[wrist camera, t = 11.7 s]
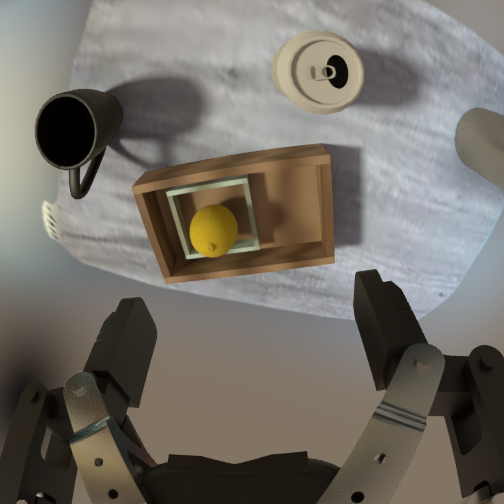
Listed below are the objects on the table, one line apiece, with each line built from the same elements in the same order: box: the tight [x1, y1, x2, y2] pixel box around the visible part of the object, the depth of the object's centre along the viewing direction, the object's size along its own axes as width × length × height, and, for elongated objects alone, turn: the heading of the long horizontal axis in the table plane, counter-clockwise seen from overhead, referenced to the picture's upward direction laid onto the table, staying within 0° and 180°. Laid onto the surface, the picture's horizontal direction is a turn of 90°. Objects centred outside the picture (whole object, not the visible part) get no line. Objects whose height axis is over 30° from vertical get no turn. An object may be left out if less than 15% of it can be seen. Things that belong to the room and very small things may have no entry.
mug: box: [35, 89, 123, 199], centre depth 30 cm, size 8×12×10 cm
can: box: [271, 30, 365, 114], centre depth 25 cm, size 8×8×12 cm
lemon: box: [190, 204, 238, 257], centre depth 36 cm, size 6×6×8 cm
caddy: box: [132, 144, 335, 284], centre depth 38 cm, size 22×14×5 cm, turn 99°
